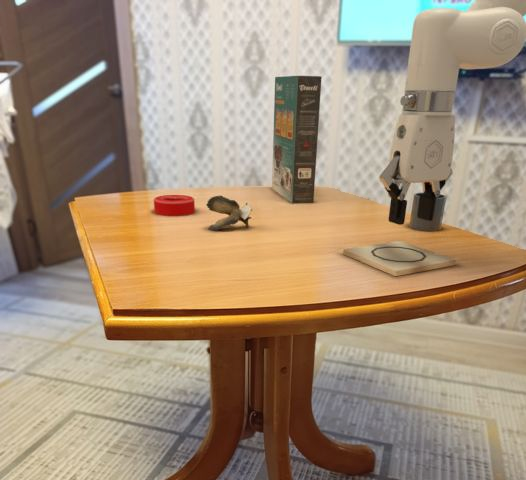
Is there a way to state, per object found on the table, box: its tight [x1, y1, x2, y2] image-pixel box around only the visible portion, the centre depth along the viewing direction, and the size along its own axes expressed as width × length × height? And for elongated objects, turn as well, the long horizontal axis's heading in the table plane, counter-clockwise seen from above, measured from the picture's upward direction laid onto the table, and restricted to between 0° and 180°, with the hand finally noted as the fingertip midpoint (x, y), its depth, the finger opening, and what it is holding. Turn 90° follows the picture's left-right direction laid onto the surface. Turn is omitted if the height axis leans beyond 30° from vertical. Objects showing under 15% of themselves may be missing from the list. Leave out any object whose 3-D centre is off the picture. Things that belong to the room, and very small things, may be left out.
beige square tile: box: [342, 240, 457, 277], centre depth 91 cm, size 14×14×1 cm
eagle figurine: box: [206, 195, 253, 231], centre depth 109 cm, size 8×7×9 cm
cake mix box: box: [271, 75, 323, 204], centre depth 139 cm, size 22×6×30 cm, turn 13°
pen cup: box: [408, 192, 447, 232], centre depth 113 cm, size 7×7×7 cm
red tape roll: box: [153, 194, 196, 217], centre depth 123 cm, size 10×10×3 cm
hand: (410, 220), depth 87 cm, fingers open, 5 cm apart
